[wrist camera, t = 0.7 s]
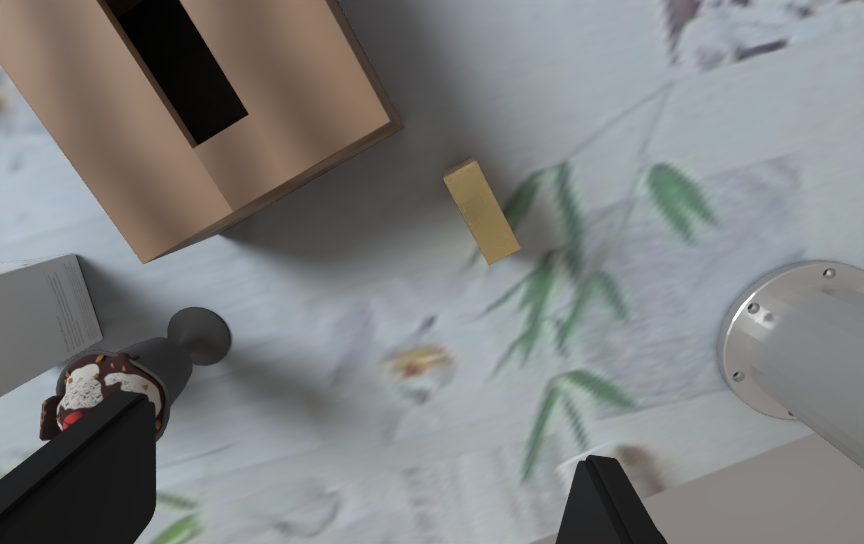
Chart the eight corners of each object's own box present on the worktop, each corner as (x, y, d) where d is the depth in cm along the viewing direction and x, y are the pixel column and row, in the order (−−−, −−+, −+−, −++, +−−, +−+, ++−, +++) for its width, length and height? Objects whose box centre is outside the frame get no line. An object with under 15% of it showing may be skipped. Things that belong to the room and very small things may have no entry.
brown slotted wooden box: (278, -110, 29) (208, -217, 21) (404, 127, 33) (390, 121, 24) (79, 27, 32) (-59, -18, 23) (217, 234, 35) (143, 264, 26)
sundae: (253, 318, 37) (129, 430, 22) (224, 386, 38) (91, 533, 24) (173, 281, 36) (-8, 372, 22) (147, 352, 38) (-37, 482, 23)
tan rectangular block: (470, 157, 33) (476, 160, 28) (508, 231, 35) (520, 248, 29) (443, 172, 34) (442, 178, 28) (481, 245, 35) (488, 265, 29)
